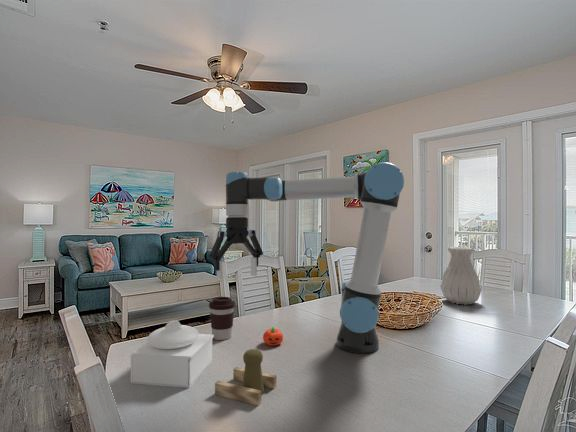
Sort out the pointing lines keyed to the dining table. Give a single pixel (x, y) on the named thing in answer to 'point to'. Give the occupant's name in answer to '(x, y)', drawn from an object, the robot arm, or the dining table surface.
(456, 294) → the vase
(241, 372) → the pair of wooden strips
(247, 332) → the dining table surface
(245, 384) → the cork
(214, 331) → the coffee cup
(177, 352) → the butter dish
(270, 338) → the pumpkin
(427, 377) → the dining table surface
